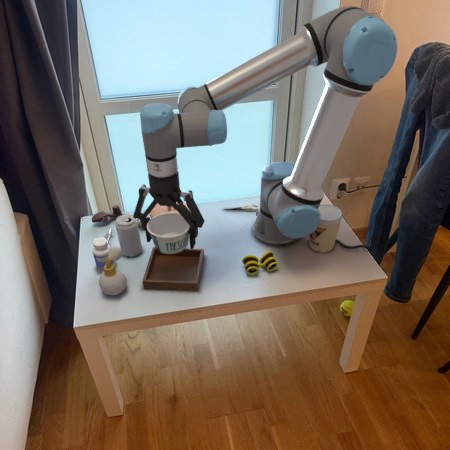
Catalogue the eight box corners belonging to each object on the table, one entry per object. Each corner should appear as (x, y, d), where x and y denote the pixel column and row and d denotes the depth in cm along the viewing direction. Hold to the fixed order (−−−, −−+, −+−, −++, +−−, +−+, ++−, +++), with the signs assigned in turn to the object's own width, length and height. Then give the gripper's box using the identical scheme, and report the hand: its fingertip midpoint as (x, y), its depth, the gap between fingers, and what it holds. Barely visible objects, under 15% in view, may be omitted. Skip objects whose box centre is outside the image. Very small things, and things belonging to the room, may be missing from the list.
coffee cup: (300, 240, 143) (305, 207, 135) (325, 233, 146) (331, 200, 137) (316, 256, 137) (321, 224, 129) (342, 249, 139) (349, 216, 131)
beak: (224, 210, 157) (224, 213, 156) (223, 204, 155) (223, 207, 154) (258, 209, 156) (258, 211, 155) (258, 203, 154) (258, 205, 153)
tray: (204, 256, 138) (203, 248, 136) (198, 291, 127) (197, 283, 125) (154, 254, 139) (152, 247, 137) (143, 289, 128) (142, 281, 126)
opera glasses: (246, 278, 131) (248, 267, 127) (241, 265, 134) (242, 254, 130) (277, 272, 133) (280, 261, 129) (271, 259, 136) (273, 248, 132)
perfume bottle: (100, 301, 124) (90, 268, 116) (103, 278, 131) (94, 245, 123) (127, 299, 125) (119, 265, 116) (129, 276, 132) (122, 243, 123)
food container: (176, 226, 131) (174, 207, 127) (201, 245, 124) (200, 225, 120) (141, 242, 126) (138, 222, 121) (165, 262, 119) (162, 242, 114)
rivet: (109, 248, 140) (104, 246, 140) (107, 252, 141) (102, 250, 141) (113, 228, 147) (108, 226, 146) (111, 231, 148) (106, 229, 147)
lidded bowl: (195, 242, 143) (192, 212, 135) (155, 248, 141) (151, 219, 133) (188, 220, 151) (185, 191, 144) (150, 226, 149) (146, 197, 142)
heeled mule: (95, 221, 146) (98, 231, 149) (123, 207, 151) (125, 216, 154) (88, 216, 149) (91, 225, 151) (116, 202, 154) (118, 211, 156)
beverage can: (138, 259, 137) (132, 226, 129) (118, 256, 138) (111, 224, 130) (145, 246, 142) (139, 214, 133) (125, 244, 143) (119, 212, 134)
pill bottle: (99, 261, 137) (92, 235, 130) (117, 261, 137) (111, 235, 130) (95, 273, 133) (87, 247, 126) (113, 273, 133) (106, 247, 126)
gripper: (111, 173, 110) (125, 244, 125) (206, 185, 105) (209, 257, 120) (123, 159, 115) (136, 228, 130) (214, 169, 110) (216, 240, 125)
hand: (171, 242), depth 125 cm, fingers closed on food container, 12 cm apart
